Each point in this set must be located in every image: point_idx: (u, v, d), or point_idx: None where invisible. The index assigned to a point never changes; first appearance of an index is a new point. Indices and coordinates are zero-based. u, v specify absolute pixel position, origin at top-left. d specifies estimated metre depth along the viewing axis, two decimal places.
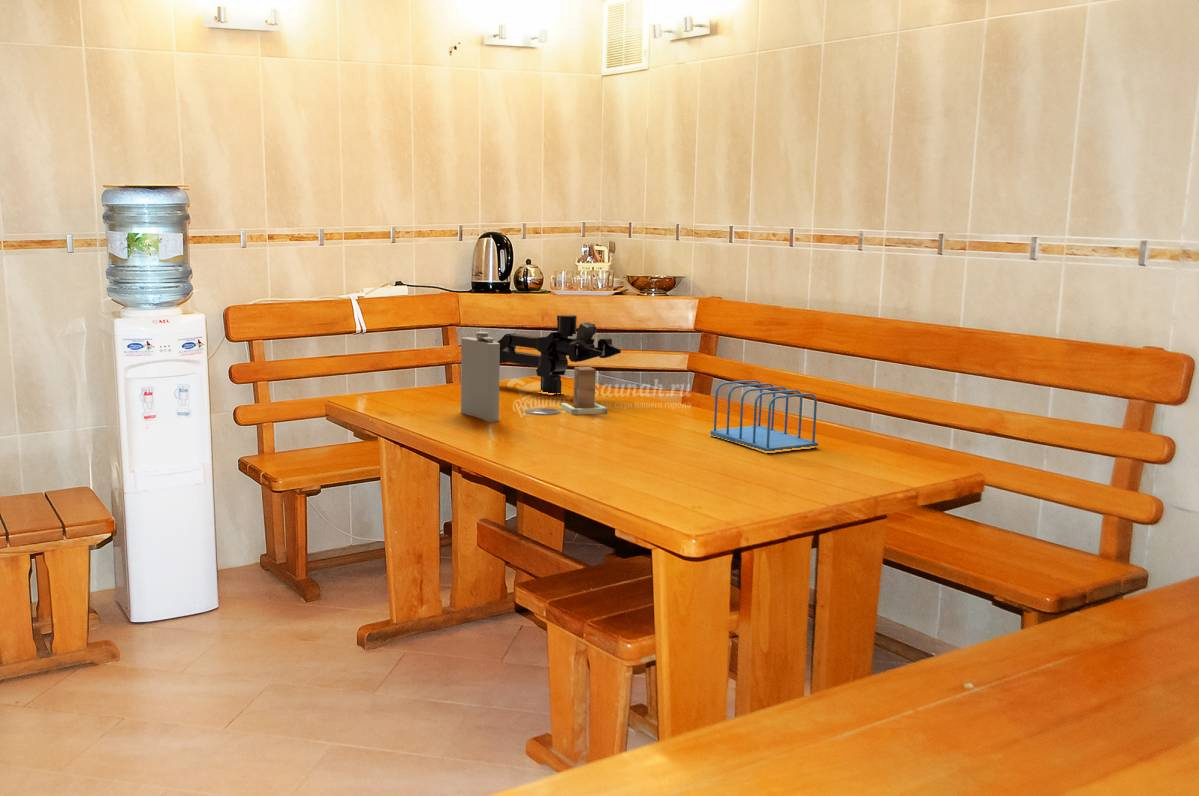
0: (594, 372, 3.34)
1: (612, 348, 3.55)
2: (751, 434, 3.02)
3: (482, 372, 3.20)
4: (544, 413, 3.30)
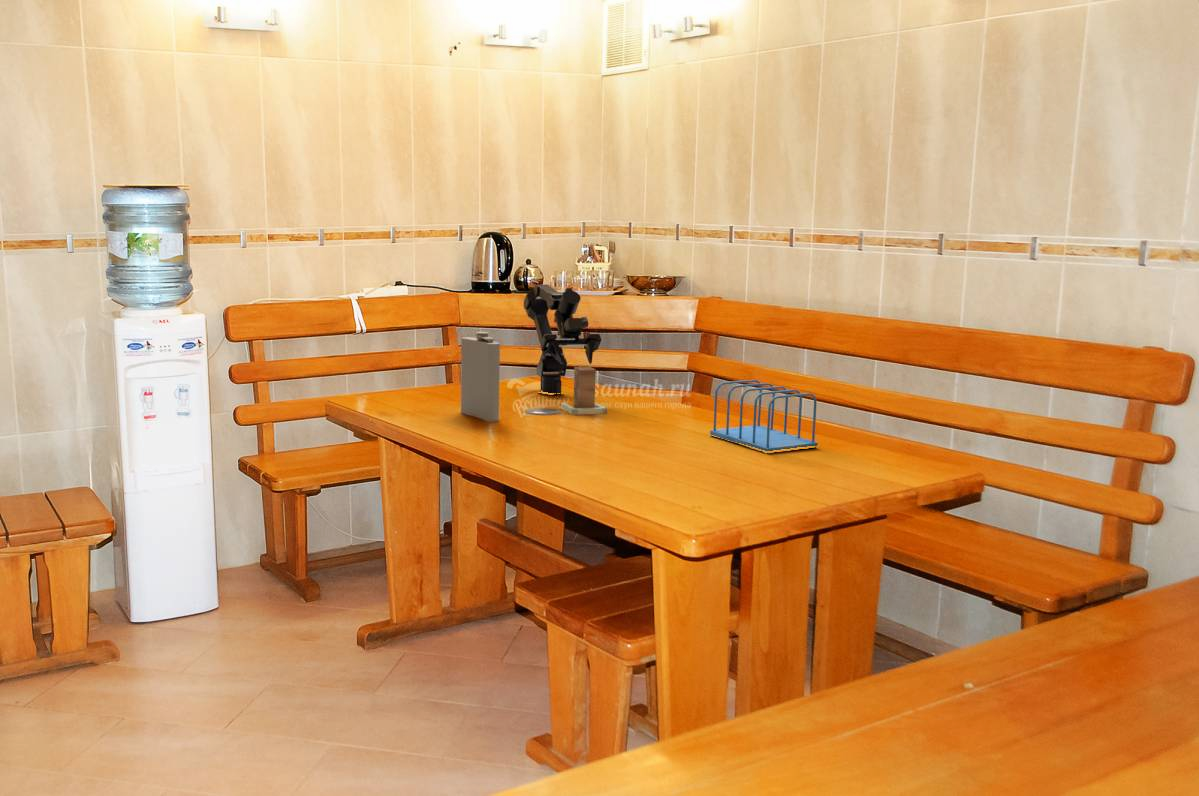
0: (594, 372, 3.34)
1: (589, 353, 3.46)
2: (751, 434, 3.02)
3: (482, 372, 3.20)
4: (544, 413, 3.30)
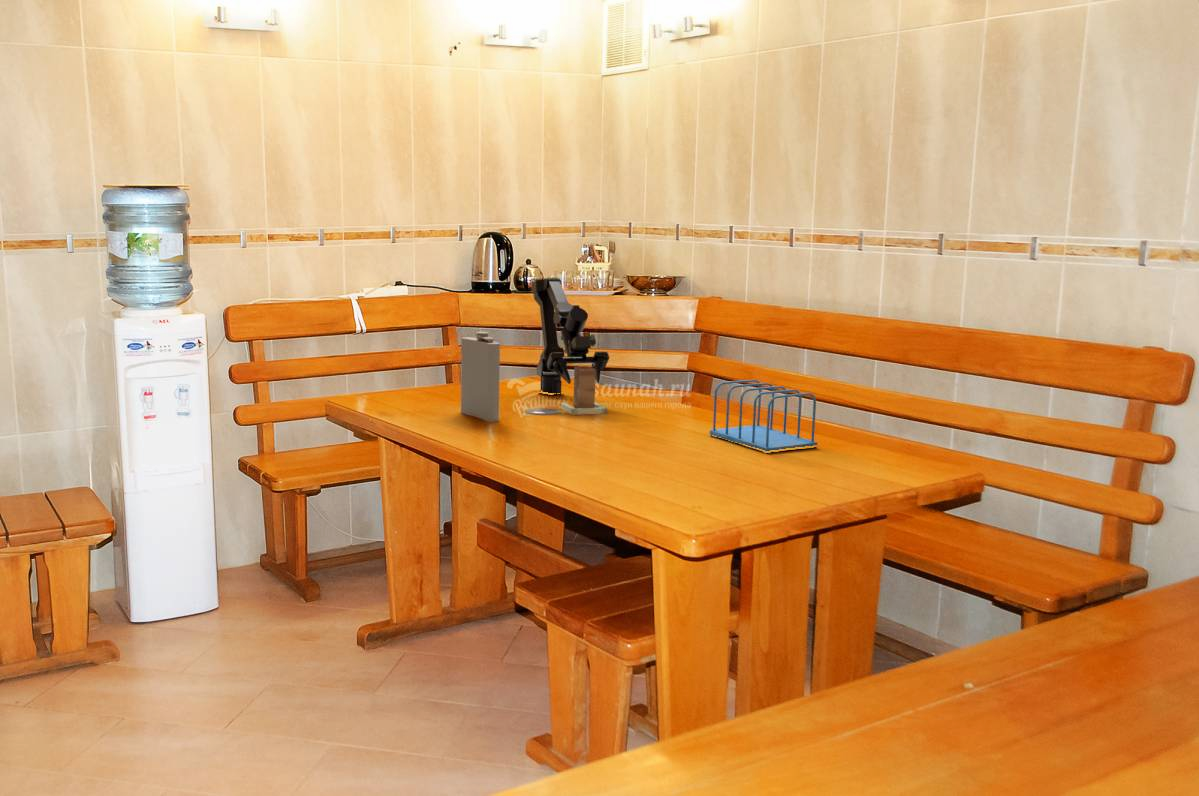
0: (594, 372, 3.34)
1: (596, 372, 3.39)
2: (750, 434, 3.02)
3: (482, 372, 3.20)
4: (544, 413, 3.30)
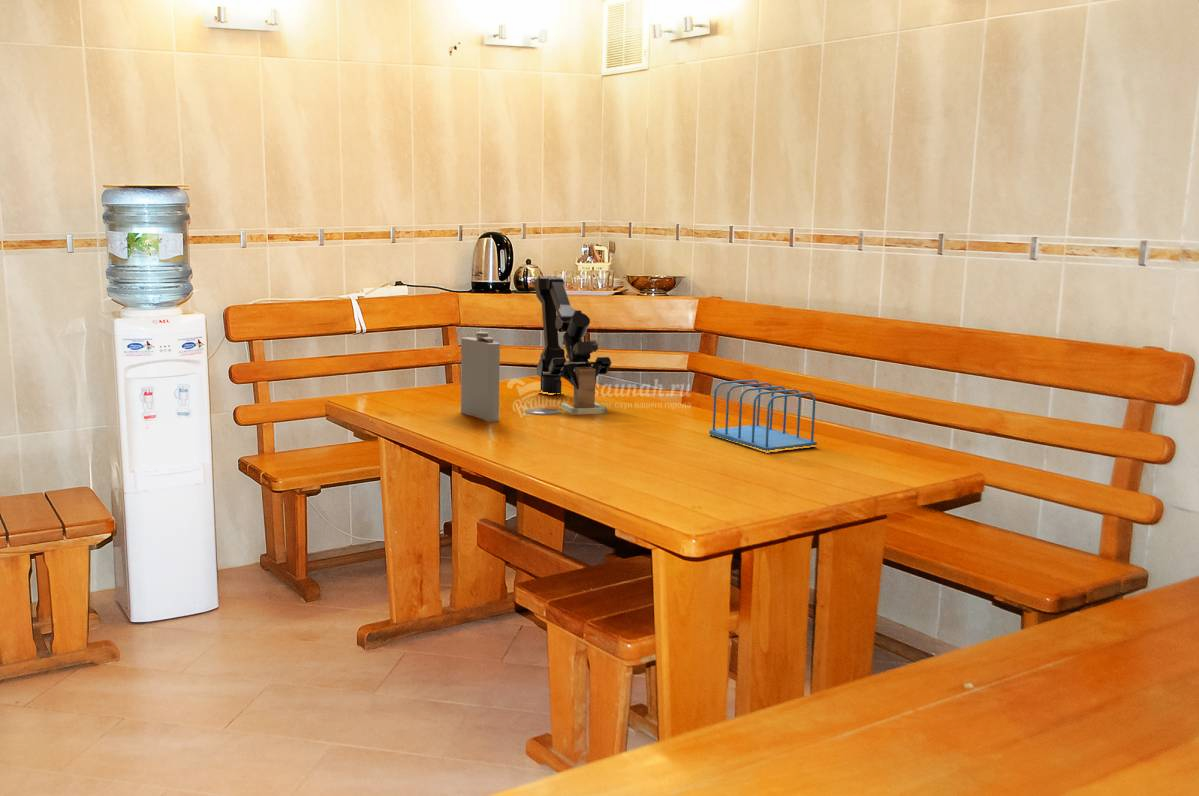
0: (594, 372, 3.34)
1: None
2: (750, 433, 3.03)
3: (482, 372, 3.20)
4: (544, 413, 3.30)
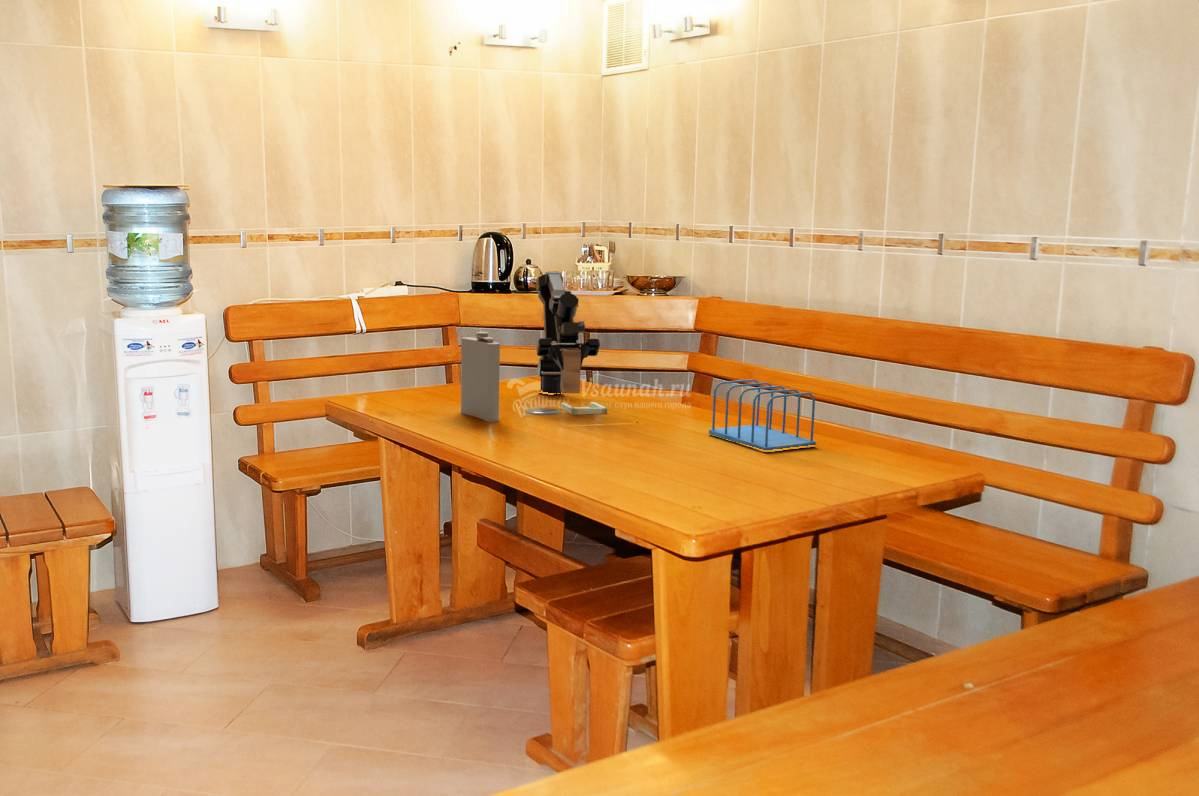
0: (579, 353, 3.30)
1: None
2: (749, 433, 3.03)
3: (482, 372, 3.20)
4: (544, 413, 3.30)
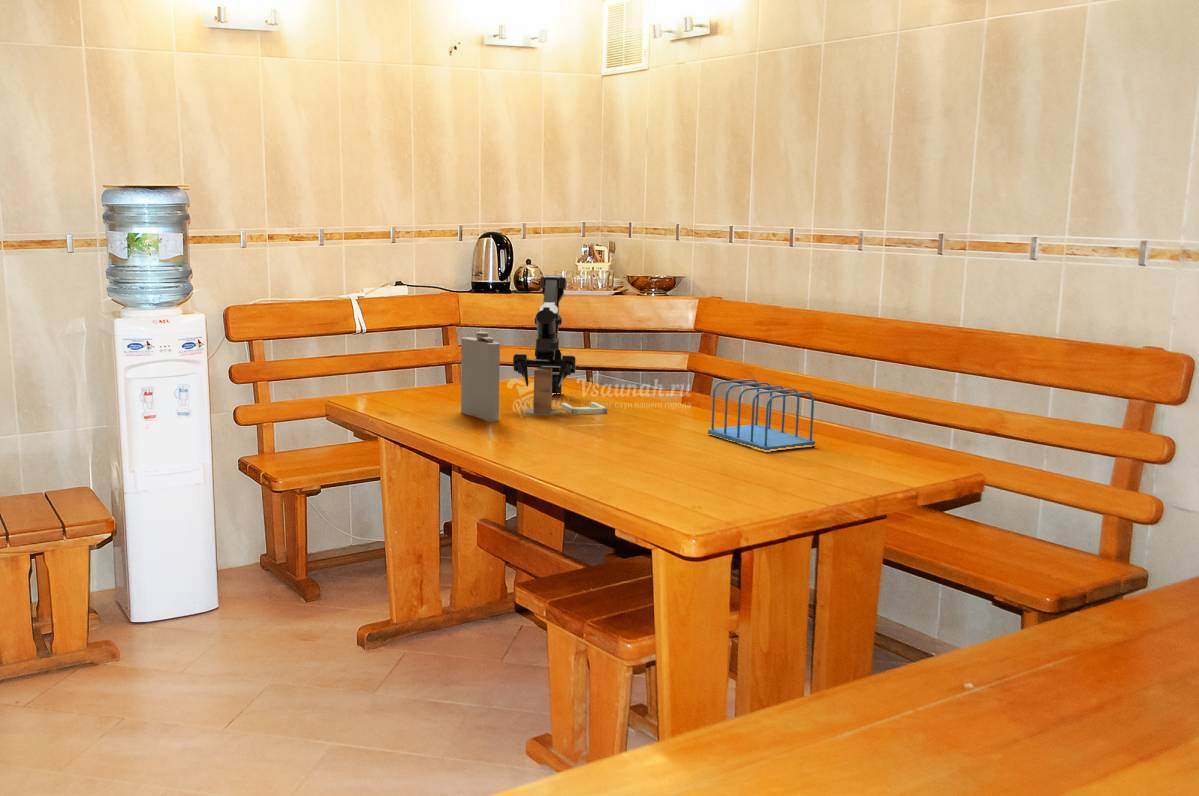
0: (549, 373, 3.29)
1: (558, 376, 3.32)
2: (748, 433, 3.03)
3: (482, 372, 3.20)
4: (544, 413, 3.30)
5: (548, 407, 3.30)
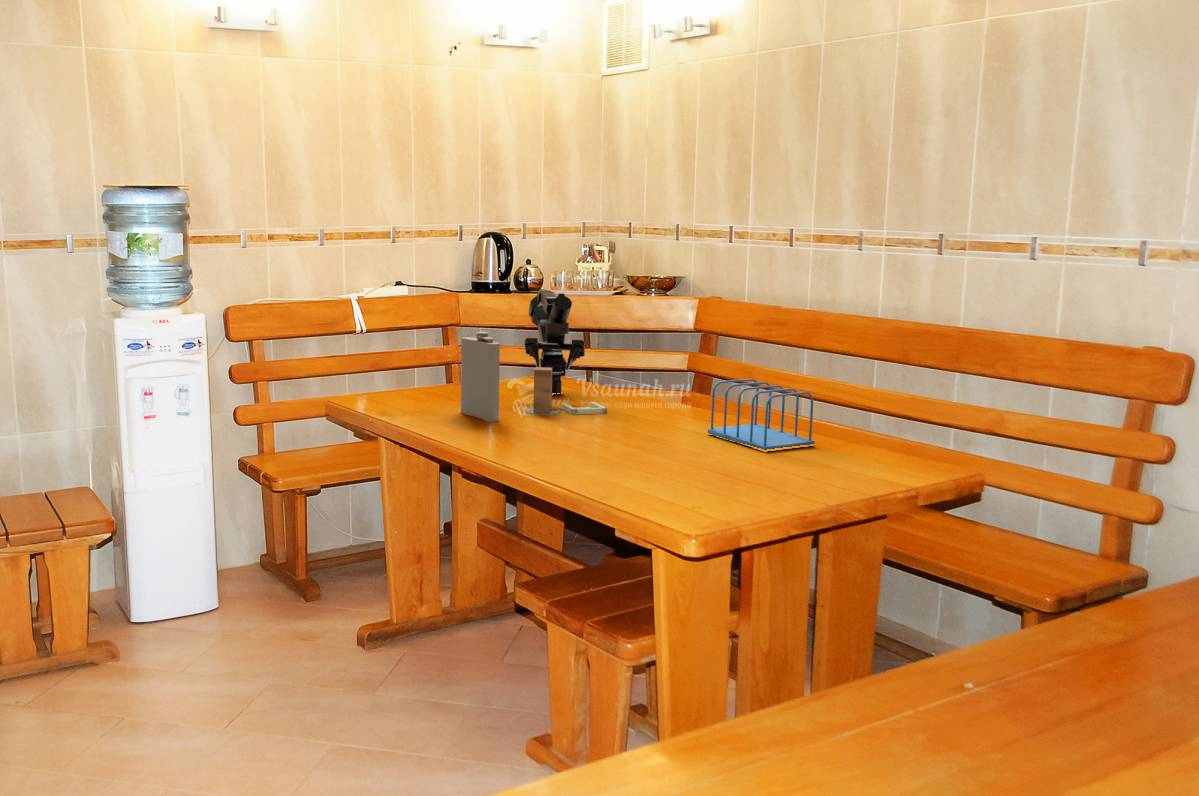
0: (549, 373, 3.29)
1: None
2: (748, 432, 3.04)
3: (482, 372, 3.20)
4: (544, 413, 3.30)
5: (548, 407, 3.30)
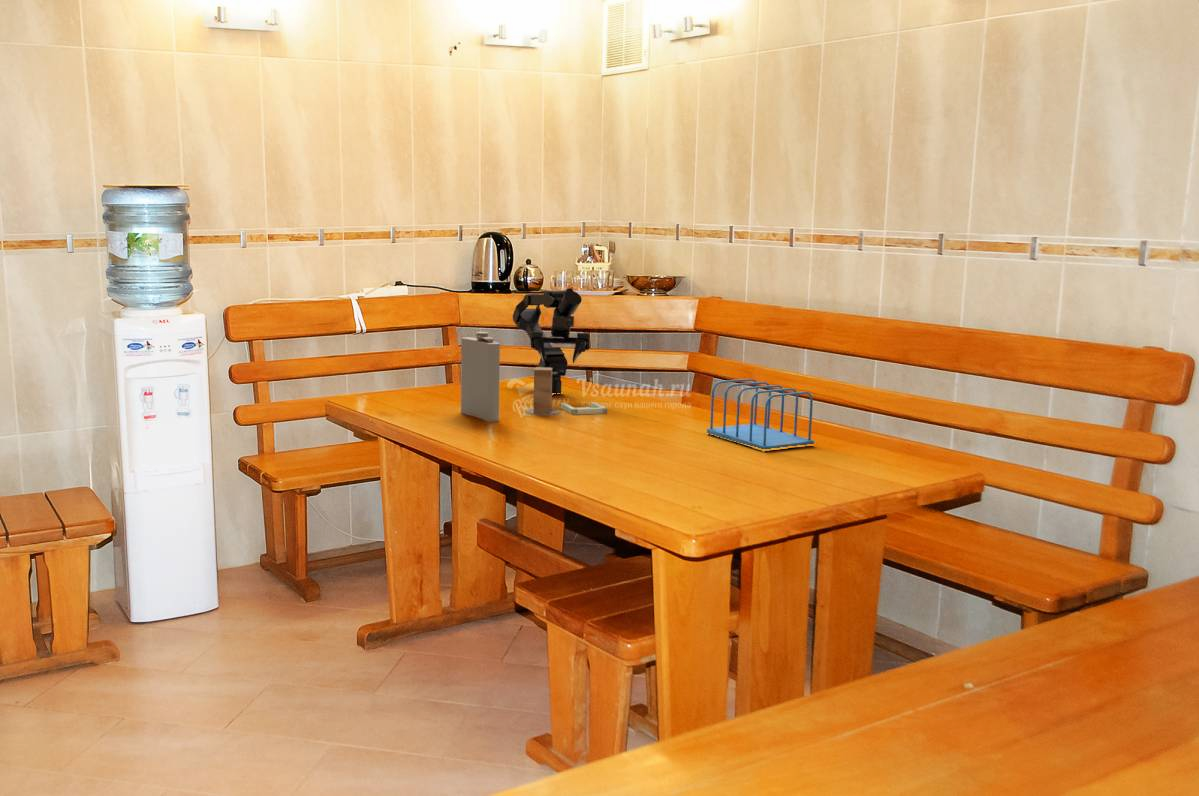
0: (549, 373, 3.29)
1: (574, 352, 3.48)
2: (747, 432, 3.04)
3: (482, 372, 3.20)
4: (544, 413, 3.30)
5: (548, 407, 3.30)
